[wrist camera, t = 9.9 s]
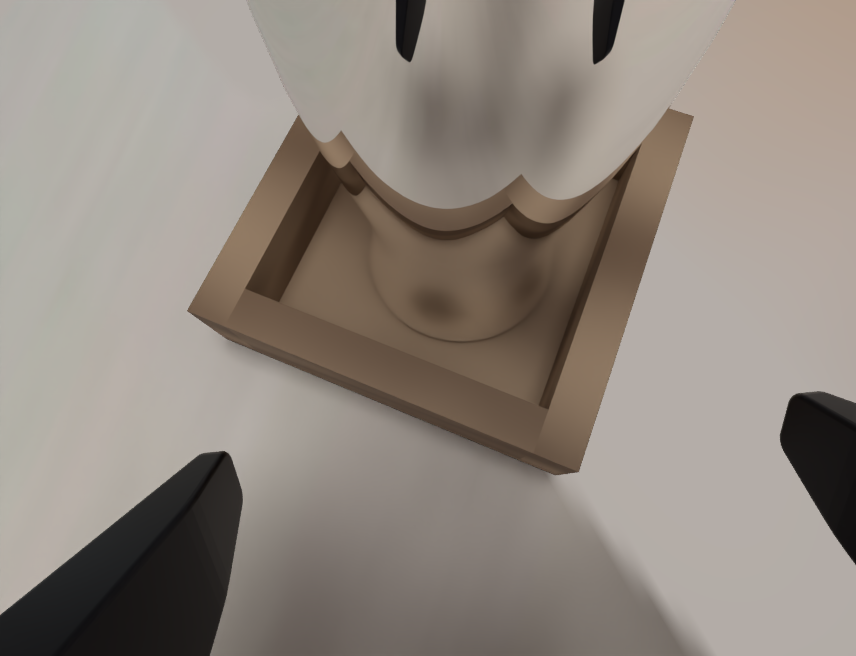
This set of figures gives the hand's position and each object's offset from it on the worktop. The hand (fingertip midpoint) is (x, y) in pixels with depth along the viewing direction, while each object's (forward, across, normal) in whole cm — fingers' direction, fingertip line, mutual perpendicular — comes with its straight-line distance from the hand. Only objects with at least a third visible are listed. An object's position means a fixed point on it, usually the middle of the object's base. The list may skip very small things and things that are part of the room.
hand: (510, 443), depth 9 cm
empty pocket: (+11, 0, 0) cm, 11 cm away
